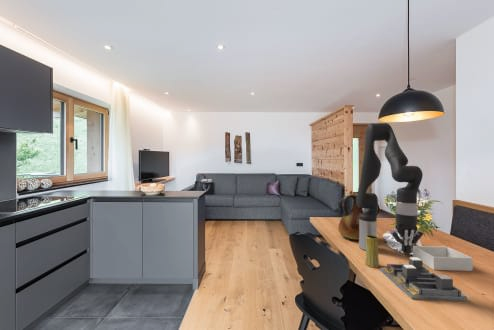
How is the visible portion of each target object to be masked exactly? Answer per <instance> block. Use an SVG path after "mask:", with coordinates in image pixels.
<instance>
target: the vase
mask: <svg viewBox="0 0 494 330" xmlns="http://www.w3.org/2000/svg"><path fill="white" fill-rule="evenodd" d="M365 251H366V252H365V260H364V264H365V265H366V266H367V267H369V268H376V269H377V268H379V266H380V264H379V263H380V262H379V261H380V260H379V237H378V236H377V235H376V236H373V235H367V236H366V250H365Z"/></svg>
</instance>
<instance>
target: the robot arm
mask: <svg viewBox="0 0 494 330" xmlns="http://www.w3.org/2000/svg"><path fill="white" fill-rule="evenodd" d="M364 141H365V142H364V153H363V160H362V164H361V173H360V180H359V186H358V189H357V194H356V195H357V198H356V204H357V206H358V207H359V208H363V209H368V210H367V211H365V212H364V211H363V213H361V214H360V215H359V240H358V249H359V248H360V249H361V250H364V251H366V236H367V235H373V236H377V231H378V230H377V227H378V226H377V222H378V221H377V219H378V208H379V207H378V206H379V199H378V195H377V194H376V193H375V192H367V191H368V189H369V188H370V186H371V185H372V184H373V183H374V182H375V181H376V180H377V179H378V178H379V177H380V174H381V168H382V162H381V160H380V157H379V156H378V154H377V153H376V150H375V142H381V141H384V142H385V143H386V146H385V148H384V157H385V158H386V160H387V162H388V163H389V166H390V171H391V177H392V179H393V180H394V181H396V182H397V183H407V184H406V185H405V186H403V187H399V188H398V189H397V190H396V203H395V228H394V229H393V230H390V231H389V234H391V236H392V237H393V239H395V241H396V243H399V244H400V245H401V252H402V253H403V254H405V255H410V254H411V252H412V250H411V249H412V248H411V247H412V245H416V244H417V243H418V242H419V240H420V239H421V238H422V237H423V235H424V232H422V231H420V229H419V228H418V214H419V213H418V211H419V210H418V209H419V208H418V192H419V189H420V185H421V182H422V180H423V175H424V174H423V170H422V169H421V168H420V167H419V166H418V165H408V164H409V160H408V159H409V158H408V157H407V156H406V153H404V151H403V149H402V148H401V147H400V144H399V143H398V140H397V137H396V134H395V131H394V129H393V127H392V126H391V125H390V124H389V123H387V122H373V123H369V124H368V125H367V126H366V130H365V140H364Z"/></svg>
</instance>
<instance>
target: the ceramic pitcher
mask: <svg viewBox="0 0 494 330" xmlns="http://www.w3.org/2000/svg"><path fill="white" fill-rule="evenodd" d="M350 198H352V200H353V203H352V204H353V205H352V207H351V210H349V211H347V208H346V202H347V200H348V199H350ZM356 198H357V194H354V193H349V194H347V195H346V196H344V197H343V198H342V200H341V208H342V211H343V216H342V217H341V218H340V220H339V222H338V233H339V234H340V235H341V236H343V237H345V238H347V239H350V240H354V241H356V240H357V241H359V215H360V214H361V213H364V208H359V207H358V206H357V204H356Z"/></svg>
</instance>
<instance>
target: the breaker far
mask: <svg viewBox="0 0 494 330" xmlns="http://www.w3.org/2000/svg"><path fill="white" fill-rule="evenodd" d="M408 264H409V265H413V266H414V267H416V269H422V266H423V263H422V260H421V259H419V258H418V257H413V256H410V257H409V258H408Z"/></svg>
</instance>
